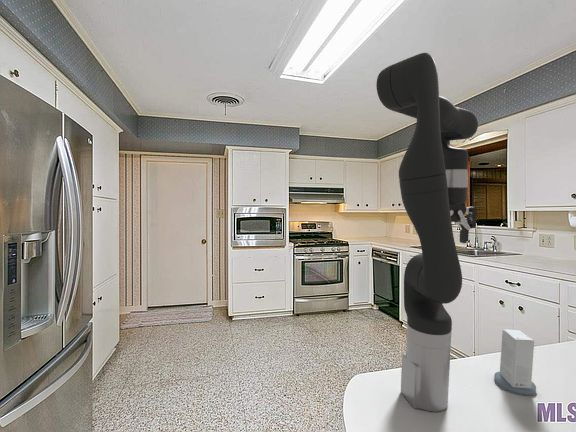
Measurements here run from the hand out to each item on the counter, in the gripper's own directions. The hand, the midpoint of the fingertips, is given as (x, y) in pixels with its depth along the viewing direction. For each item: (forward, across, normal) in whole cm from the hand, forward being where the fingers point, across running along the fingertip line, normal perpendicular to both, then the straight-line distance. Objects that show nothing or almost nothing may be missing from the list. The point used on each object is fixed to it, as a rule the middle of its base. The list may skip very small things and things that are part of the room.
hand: (449, 243), depth 90 cm
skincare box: (+32, +8, -16) cm, 37 cm away
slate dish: (+33, +8, -16) cm, 38 cm away
